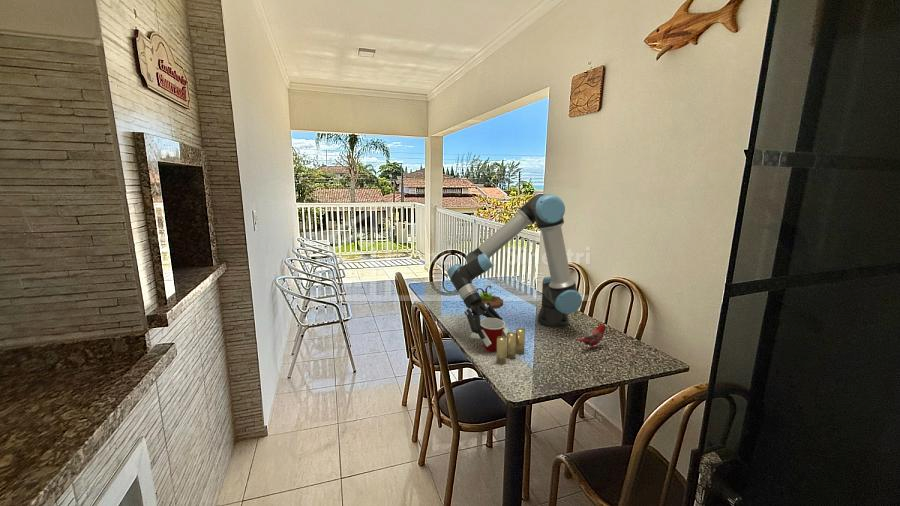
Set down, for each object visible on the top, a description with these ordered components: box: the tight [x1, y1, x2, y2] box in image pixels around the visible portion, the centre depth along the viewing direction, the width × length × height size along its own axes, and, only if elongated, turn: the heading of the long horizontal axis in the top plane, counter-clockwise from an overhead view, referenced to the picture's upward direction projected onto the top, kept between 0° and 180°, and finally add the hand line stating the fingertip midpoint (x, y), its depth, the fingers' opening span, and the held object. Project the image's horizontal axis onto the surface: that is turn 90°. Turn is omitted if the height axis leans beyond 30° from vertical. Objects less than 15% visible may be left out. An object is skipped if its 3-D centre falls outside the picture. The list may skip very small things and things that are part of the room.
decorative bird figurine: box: [575, 323, 607, 350], centre depth 152 cm, size 3×18×10 cm, turn 118°
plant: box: [476, 285, 504, 310], centre depth 213 cm, size 20×20×11 cm
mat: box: [469, 326, 510, 340], centre depth 171 cm, size 16×16×1 cm
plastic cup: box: [480, 317, 506, 353], centre depth 153 cm, size 11×11×12 cm
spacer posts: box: [496, 327, 526, 365], centre depth 146 cm, size 4×16×10 cm, turn 133°
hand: (497, 341), depth 151 cm, fingers closed on plastic cup, 10 cm apart
